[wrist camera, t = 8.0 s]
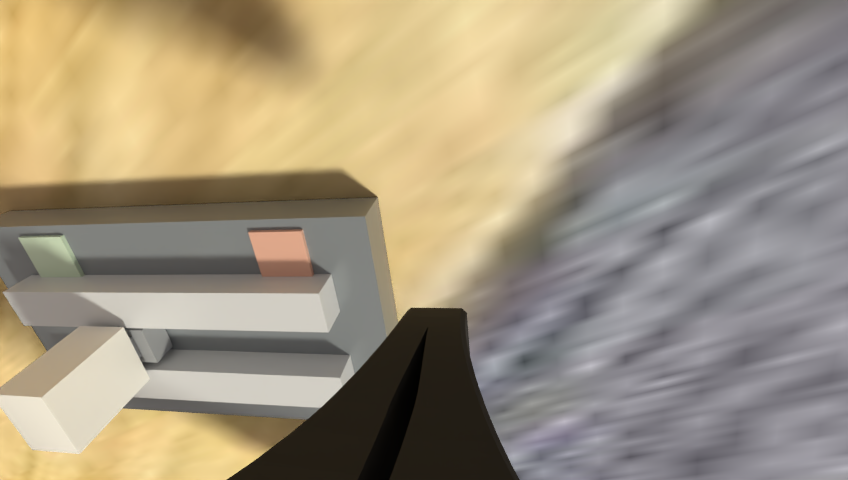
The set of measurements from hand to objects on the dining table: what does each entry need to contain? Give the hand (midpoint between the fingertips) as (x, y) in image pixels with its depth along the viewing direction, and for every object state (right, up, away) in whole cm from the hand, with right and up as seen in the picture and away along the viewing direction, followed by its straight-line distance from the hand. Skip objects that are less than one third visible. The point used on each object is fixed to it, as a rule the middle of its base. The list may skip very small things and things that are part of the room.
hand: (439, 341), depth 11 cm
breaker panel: (-12, -1, +14) cm, 18 cm away
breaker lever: (-15, -2, +12) cm, 19 cm away
